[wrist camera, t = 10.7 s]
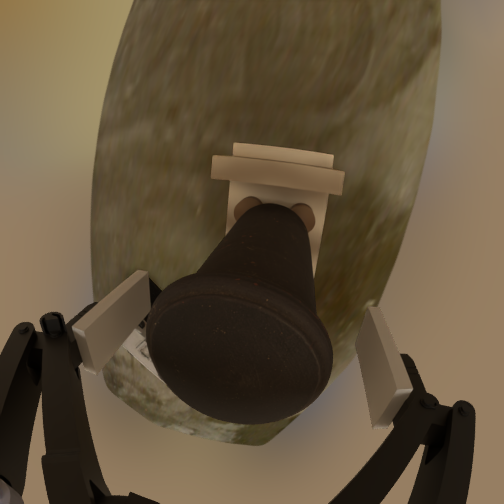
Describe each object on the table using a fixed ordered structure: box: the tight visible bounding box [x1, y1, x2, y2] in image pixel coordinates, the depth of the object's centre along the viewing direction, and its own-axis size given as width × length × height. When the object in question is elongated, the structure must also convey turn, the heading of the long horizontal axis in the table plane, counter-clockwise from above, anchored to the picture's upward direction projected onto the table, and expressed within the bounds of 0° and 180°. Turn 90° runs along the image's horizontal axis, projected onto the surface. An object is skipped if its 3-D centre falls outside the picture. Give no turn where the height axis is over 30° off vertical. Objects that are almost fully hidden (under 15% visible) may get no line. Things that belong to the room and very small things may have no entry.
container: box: [146, 203, 333, 424], centre depth 20 cm, size 9×9×20 cm
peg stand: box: [211, 143, 345, 276], centre depth 29 cm, size 20×11×9 cm, turn 173°
